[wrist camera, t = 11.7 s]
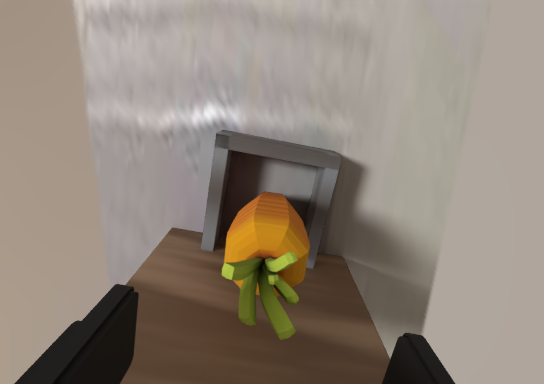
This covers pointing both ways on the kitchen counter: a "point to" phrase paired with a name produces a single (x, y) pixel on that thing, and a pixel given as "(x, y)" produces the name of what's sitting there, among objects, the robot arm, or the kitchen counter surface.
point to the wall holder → (225, 300)
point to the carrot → (267, 259)
